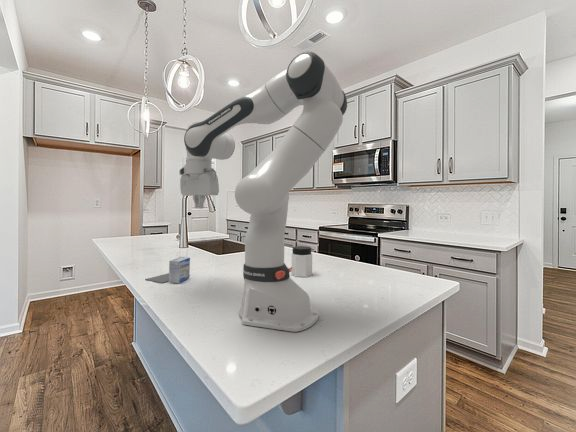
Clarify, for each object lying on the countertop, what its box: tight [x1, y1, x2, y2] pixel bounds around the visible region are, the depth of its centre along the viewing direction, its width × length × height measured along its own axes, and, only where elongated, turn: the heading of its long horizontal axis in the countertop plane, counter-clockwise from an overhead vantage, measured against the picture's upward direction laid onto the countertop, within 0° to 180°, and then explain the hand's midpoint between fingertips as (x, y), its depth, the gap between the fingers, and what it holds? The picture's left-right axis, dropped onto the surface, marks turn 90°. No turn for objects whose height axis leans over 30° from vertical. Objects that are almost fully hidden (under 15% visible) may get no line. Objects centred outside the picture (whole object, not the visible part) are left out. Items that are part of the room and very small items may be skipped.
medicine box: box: [168, 256, 191, 284], centre depth 118 cm, size 8×4×9 cm, turn 169°
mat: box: [145, 272, 191, 284], centre depth 122 cm, size 10×14×1 cm
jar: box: [291, 245, 313, 278], centre depth 129 cm, size 9×8×12 cm
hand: (199, 208), depth 107 cm, fingers closed
